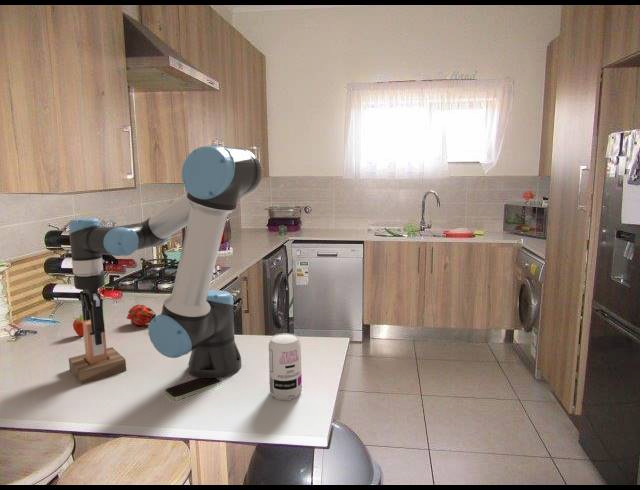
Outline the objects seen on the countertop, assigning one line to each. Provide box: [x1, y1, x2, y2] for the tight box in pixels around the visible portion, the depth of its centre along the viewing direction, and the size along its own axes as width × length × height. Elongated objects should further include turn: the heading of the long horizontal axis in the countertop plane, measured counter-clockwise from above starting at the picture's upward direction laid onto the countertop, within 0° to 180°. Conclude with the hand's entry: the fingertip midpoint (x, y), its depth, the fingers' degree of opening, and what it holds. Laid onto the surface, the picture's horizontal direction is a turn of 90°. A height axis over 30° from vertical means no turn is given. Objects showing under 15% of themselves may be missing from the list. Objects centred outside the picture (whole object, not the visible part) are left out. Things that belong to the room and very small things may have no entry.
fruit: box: [72, 313, 84, 337], centre depth 153 cm, size 5×5×8 cm
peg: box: [83, 319, 107, 364], centre depth 126 cm, size 4×4×12 cm
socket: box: [68, 346, 127, 385], centre depth 127 cm, size 12×12×4 cm
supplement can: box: [268, 332, 303, 401], centre depth 112 cm, size 8×8×15 cm
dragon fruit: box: [126, 304, 157, 328], centre depth 164 cm, size 8×8×12 cm
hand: (96, 351), depth 126 cm, fingers closed on peg, 4 cm apart
